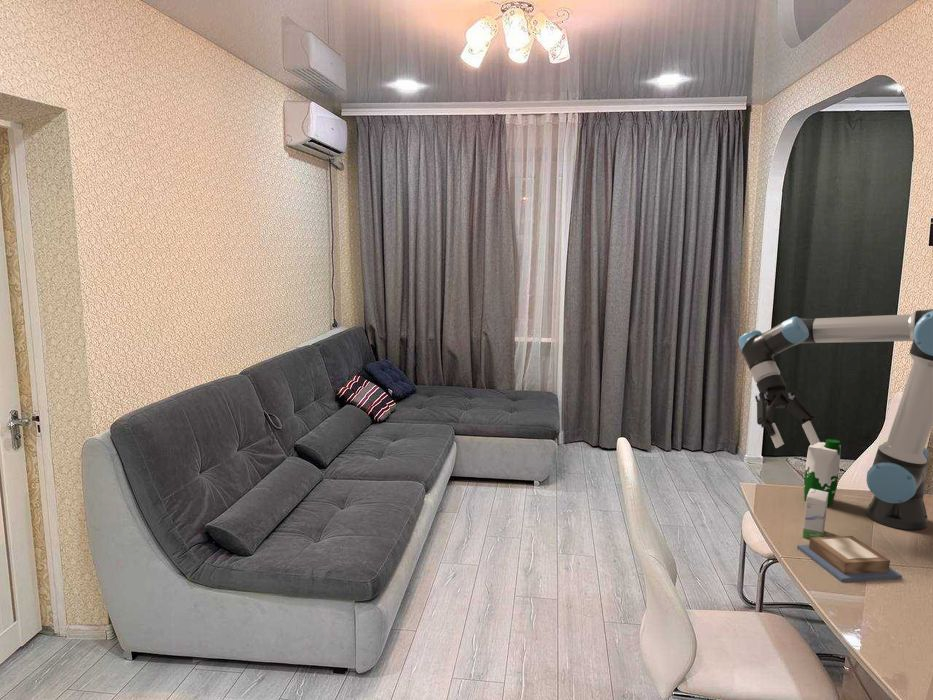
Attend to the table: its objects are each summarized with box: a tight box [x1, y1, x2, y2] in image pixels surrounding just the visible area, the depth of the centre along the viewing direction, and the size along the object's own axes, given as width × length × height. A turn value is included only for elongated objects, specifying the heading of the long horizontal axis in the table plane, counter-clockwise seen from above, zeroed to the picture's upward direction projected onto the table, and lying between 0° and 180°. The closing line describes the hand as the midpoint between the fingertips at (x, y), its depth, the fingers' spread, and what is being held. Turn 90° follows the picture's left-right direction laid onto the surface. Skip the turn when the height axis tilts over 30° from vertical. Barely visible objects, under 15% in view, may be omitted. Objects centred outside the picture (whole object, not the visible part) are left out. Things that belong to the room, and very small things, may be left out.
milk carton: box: [803, 438, 842, 507], centre depth 216 cm, size 9×9×20 cm
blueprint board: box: [796, 544, 903, 583], centre depth 176 cm, size 16×18×1 cm
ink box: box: [802, 489, 828, 540], centre depth 192 cm, size 8×5×12 cm, turn 148°
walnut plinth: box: [808, 535, 891, 574], centre depth 176 cm, size 12×14×3 cm
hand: (797, 444), depth 197 cm, fingers open, 13 cm apart
